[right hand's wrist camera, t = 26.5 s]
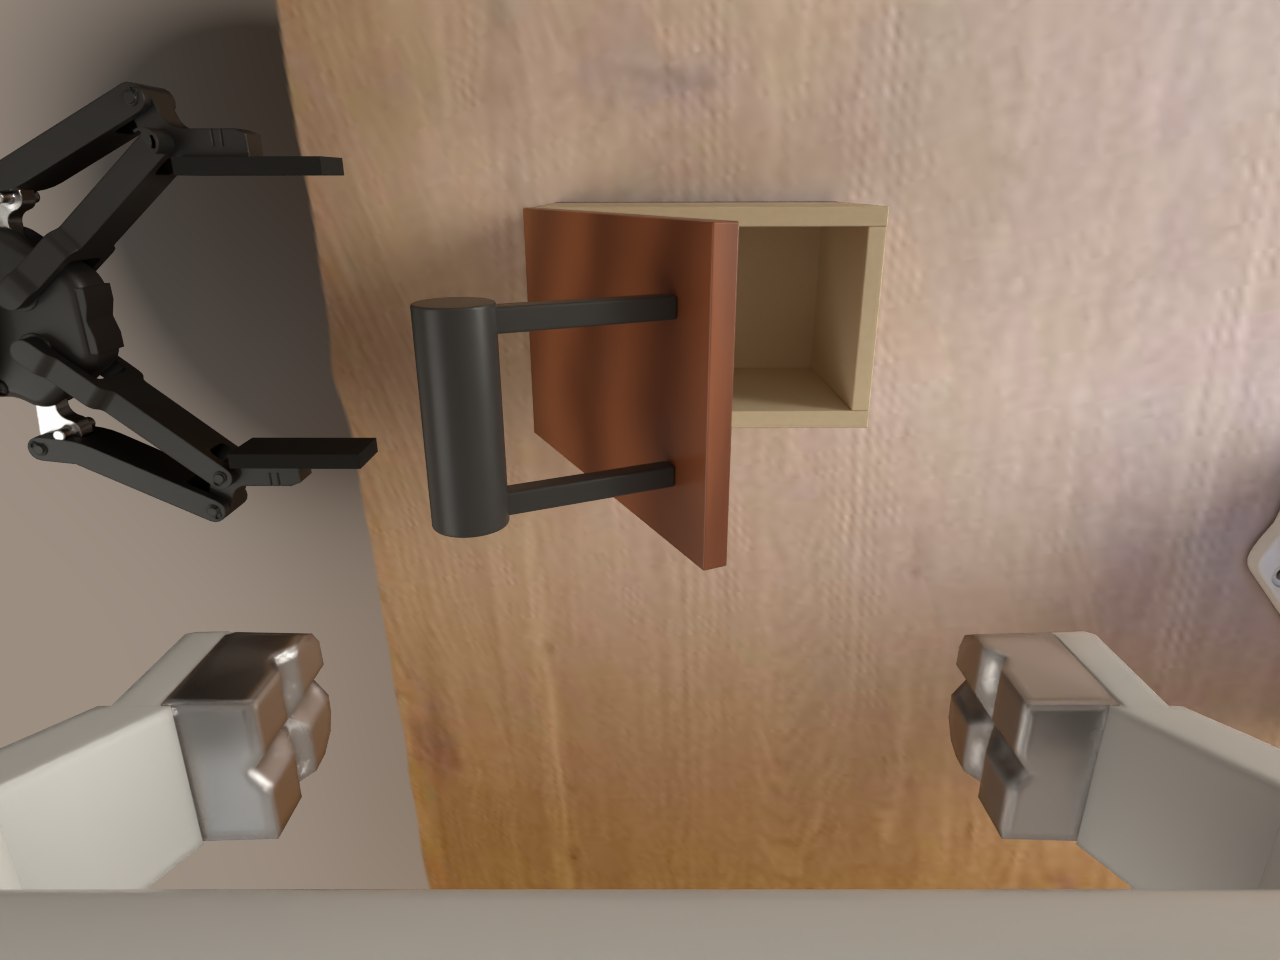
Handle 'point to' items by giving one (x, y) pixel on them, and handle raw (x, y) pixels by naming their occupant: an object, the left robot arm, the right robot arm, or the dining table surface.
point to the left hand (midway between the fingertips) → (352, 318)
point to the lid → (593, 377)
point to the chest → (796, 306)
